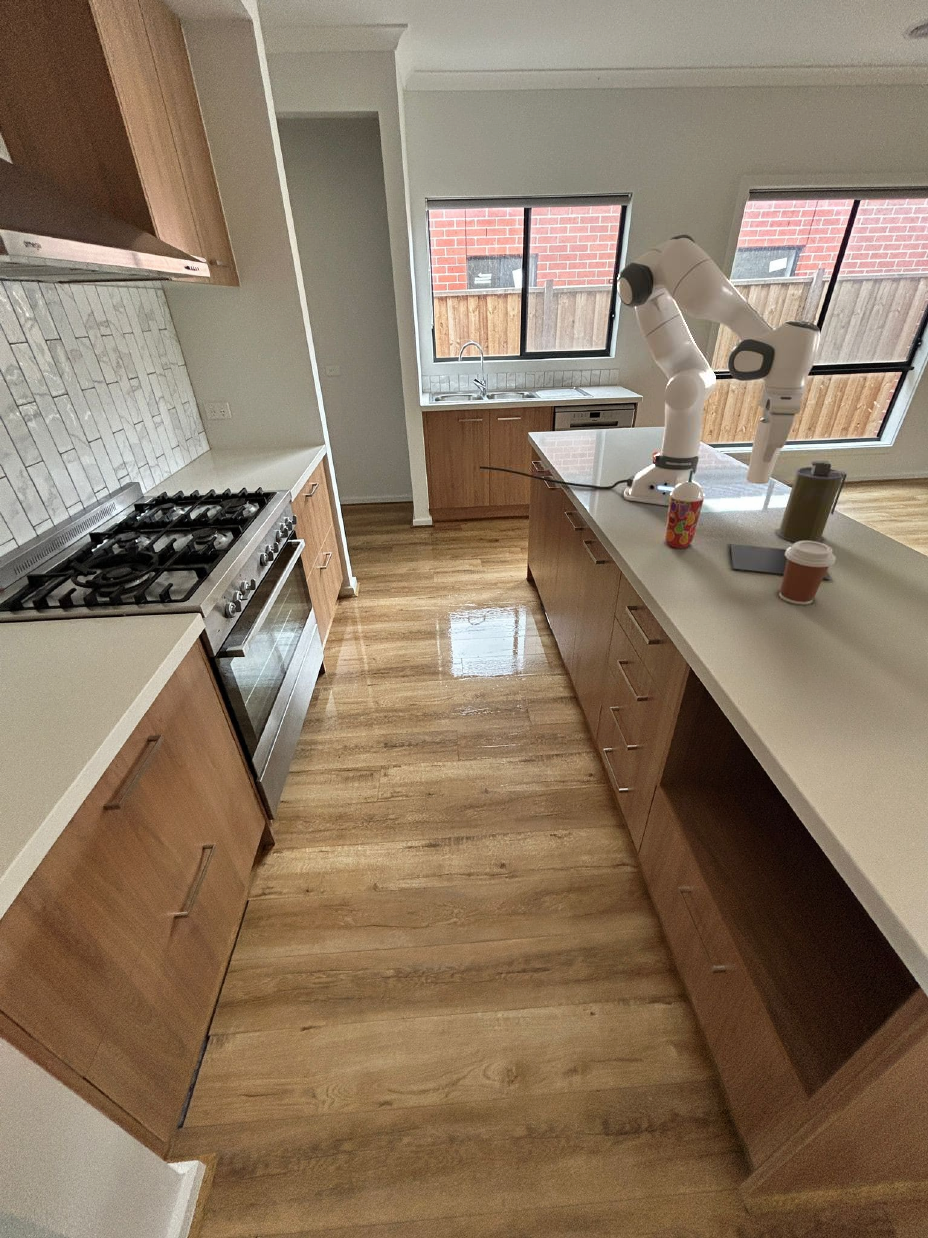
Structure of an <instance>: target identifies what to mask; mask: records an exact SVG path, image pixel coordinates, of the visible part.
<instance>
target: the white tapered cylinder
mask: <svg viewBox="0 0 928 1238" xmlns="http://www.w3.org/2000/svg"><path fill="white" fill-rule="evenodd" d="M765 420H766V419H759V420H758V422H757V425H756V429H755V432H754V437H753V442H752V447H751V453H750V458H749V463H748V464H749V465H748V469H747V474H746V481H747V482H748V483H751V484H755V485H764V484H768V483H769V482H770V480H771V476H772V474H773V470H774V469H775V465H776V464H777V463H776V462H777V461H778V457H779V455H780V453H781V450H782V448H776V450H775V452H774V454H773V456H772V459H771V462H763V455H764V453H765V450H766V444H765V442H764V436H765V432H766V429H767V426H768V424H769V423H765Z"/></svg>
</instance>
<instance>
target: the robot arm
mask: <svg viewBox="0 0 928 1238" xmlns="http://www.w3.org/2000/svg"><path fill="white" fill-rule="evenodd" d="M616 291H617V295H618V296H619V299H620V300H621V302H622V303H623V304H624V305H625V306H627V307H629V308H634V310H635V315H636V319H637V323H638V326H639V329H640V331H641V334H642V336H643V338H644V341H645V343H646V345H647V348H648V349H649V351H650V354H651V355H652V358H653V361H654V363H655V364H656V365H657V366H658V367H659V368H660V369H661V370H662V371H663V373H664V375H665V376H666V378H667V379H668V383H667V385H666V386H665V389H664V392H663V393H664V394H663V398H664V430H663V436H662V444H661V451H658V450H654V451H653V453H652V464H650V465H648V466H647V467H646V468H644V469H642V470H640V471H639V472H637V474H636V475H631V476H629V477H628V478H627V479H621V480H618V481H616V482H615V483H613V484H612V485H609V486H599V485H593V484H584V483H583V484H582V483H575V482H569V481H563V480H558V479H552V478H547V477H542V476H538V475H535V474H531V473H526V472H522V471H517V470H513V469H512V470H511V469H508V468H501V467H494V466H482V465H479V467H478V468H479V469H482V470H490V471H491V470H492V471H499V472H506V473H511V474H515V475H516V474H517V475H519V476H525V477H529V478H532V479H535V480H536V479H537V480H540V481H545V482H550V483H555V484H561V485H566V486H572V487H580V488H589V489H590V488H591V489H596V490H611V489H614V488H616V487H617V486H618V485H620V484H625V483H626V487H625V489H624V491H623V498H624V499H625V500H626V501H632V502H638V503H646V504H652V505H659V506H660V505H661V506H668V507H669V500H670V493H671V492H672V491H673V489H674V488H675V487H676V486H677V485H678V484H679V483H681V482H684V481H689V476H690V470H693V474H692V480H691V481H694V482H695V475H696V473H697V470H698V467H699V461H700V454H699V451H700V446H701V439H702V435H703V431H704V427H703V419H704V418H703V417H704V406H705V402H706V400H707V399H709V398H710V396H711V395H712V394H713V393H714V391H715V386H716V375H715V373H714V372H713V370H712V368H711V367H710V365H709V362H708V361H707V360H706V358H705V357H704V355H703V353H702V352H701V350H700V349H699V347H698V346H697V344H696V343H695V341H694V338H693V337H692V334H691V333H690V330H689V328H688V325H687V324H686V322H685V319H684V317H683V315H682V312H681V310H682V311H683V312H684V313H686V314H687V315H688V316H690V317H692V318H694V319H700V320H707V321H711V322H715V323H718V324H721V325H723V326H725V327H727V328H728V329H729V330H730V331H731V332H732V333H733V334H734V335H735V336H736V337H737V338H738V339H739V340H740V341H739V342H738V343H737V344H736V345H735V346H734V347H733V348H732V350H731V352H730V354H729V357H728V361H727V367H728V371H729V374H730V375H731V376H732V378H733V379H735V380H736V381H741V382H751V381H759V380H762V381H764V384H763V386H762V387H763V388H762V391H761V394H760V399H759V402H758V406H759V408H762V409H763V410H762V414H761V419H766V420H765V423H769V424H768V426H767V429H766V432H765V436H764V442H765V444H766V450H765V453H764V455H763V462H771V459H772V456H773V454H774V452H775V450H776V448H781V449H783V448H784V446H785V445H786V443H787V441H788V439H789V436H790V433H791V431H792V428H793V425H794V423H795V419H796V415H799V414H800V413H801V410H802V405H803V399H804V397H805V396H804V395H805V392H806V389H807V386H808V376H809V374H810V371H811V370H812V368H813V366H814V363H815V360H816V356H817V352H818V349H819V344H820V336H821V332H820V328H819V327H818V325H816V324H815V323H813V322H809V321H805V320H794V319H791V320H786V321H785V322H783V323H782V324H780V325H779V326H776V328H774V327H773V326H771V324H769V322H767V320H765V318H764V317H763V316H762V315H761V314H760V313H759V311H757V310H756V309H755V308H754V307H753V305H752V304H750V303H749V301H747V299H745V298H744V297H743V295H742V294H740V292H739V291H738V289H736V287H734V285H733V284H732V283H731V282H730V280H729V279H728V278H727V277H726V276H725V274H724V273H723V272H722V270H721V269H720V268H719V267H718V265H717V264H716V263H715V261H714V260H713V259H712V258H711V257H710V256H709V254H708V253H707V252H705V250H703V249H702V248H701V247H700V246H699V245H698V244H697V243H696V241H695V240H694V239H693V237H691V236H690V235H688V234H680V235H676V236H673V237H671V238H670V239H668V240H667V241H664V242H662V243H660V244H658V245H656V246H654V247H652V248H651V249H649V250H648V251H647V252H646V253H644V254H642V255H641V256H640V257H638V258H637V259H636V260H635V261H634V262H630V263H629V264H627V265H626V266H625V267H624V268H622V270H621V271H620V272H619V273H618V277H617V281H616ZM680 309H681V310H680ZM761 419H760V420H761Z"/></svg>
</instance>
